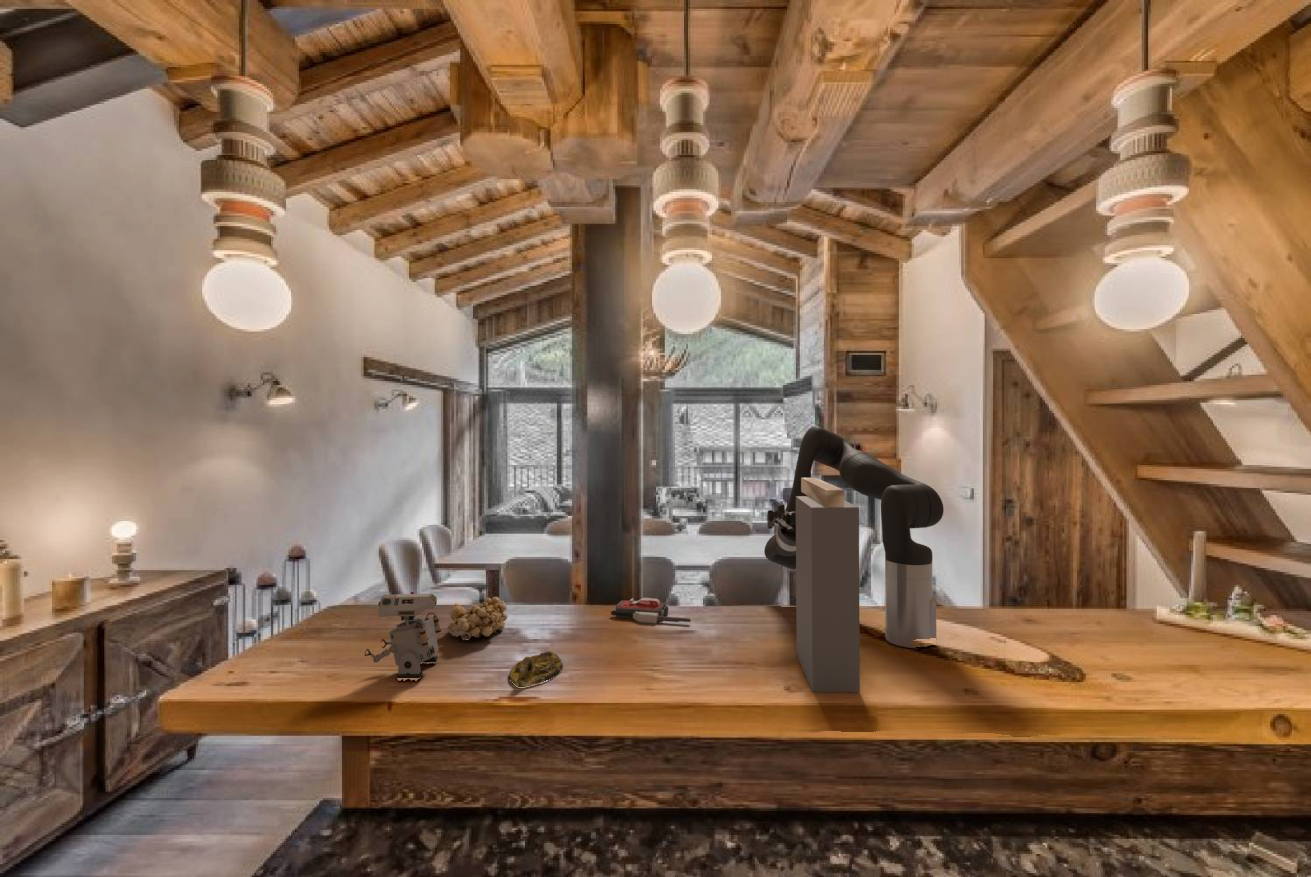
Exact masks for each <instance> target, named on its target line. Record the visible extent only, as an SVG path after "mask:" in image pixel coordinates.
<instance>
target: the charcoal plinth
mask: <svg viewBox="0 0 1311 877" xmlns="http://www.w3.org/2000/svg"><path fill="white" fill-rule="evenodd" d="M795 575H796V576H795V577H796V578H795V583H796V584H795V587H796V588H795V590H796V591H795V594H796V595H795V598H796V601H795V602H796V603H795V604H796V605H795V606H796V607H795V608H796V609H795V610H796V611H795V612H796V614H795V615H796V657H797V660H798V662H799V664H800V667H801V669H802V671H803V673H804V676H805V677H806V680H807V683H808V682H809V683H808V685H809V687H810V688H811V692H813V693H847V692H860V691H861V689H860V688H861V685H860V684H861V680H860V677H861V676H860V674H861V671H860V670H861V668H860V665H861V664H860V661H861V658H860V654H861V653H860V645H861V644H860V642H861V641H860V640H861V638H860V635H861V634H860V507H859V506H856V505H855V504H854V503H852V502H849V501H847V500H845V499H844V507H828V508H826V507H825V506H823V505H822V504H820V503H818V502H817V501H815V500H814V499H812V498H810V497H809V496H796V569H795Z"/></svg>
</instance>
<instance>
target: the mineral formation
mask: <svg viewBox="0 0 1311 877" xmlns="http://www.w3.org/2000/svg"><path fill="white" fill-rule="evenodd" d="M507 609H508V608H507V604H506V603H505V601H504V600H500V598H499V597H498V596H493V597H492V598H490V597H487V598H485V599H484V601H483V603H478V604H474V605H472V606H471V607H470V608H468V609H467V610H466V609H465V608H464V607H463V606H462V605H460V604H459V603H454V604H453V605H452V606H451V610H450V612H449V614H450V619H451V621H449V624H448V626H447V627H446V629H445V631H446V633H450V634H451V636H453V637H456V638H459V637H461V640H462V639H464V640H465V639H470V640H471V638H472V637H474V638H475V639H478V638H480V637H481V636H484V637H487V638H488V637H490V636H491V635H492V634H495V633H496V632H497V631H498V630H502V631H503V630H504V629H505V624H506V622H505V621H506V620H507V619H508V613H505V611H506V610H507ZM472 635H473V636H472ZM464 640H463V641H464Z"/></svg>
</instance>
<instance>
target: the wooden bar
mask: <svg viewBox="0 0 1311 877" xmlns="http://www.w3.org/2000/svg"><path fill="white" fill-rule="evenodd" d="M801 492H802V493H804V494H806V495H807V496H809V497H810V498H812V499H814V500H815V501H817V502H818V503H820V504H822V505H823V506H825V507H826V508H828V507H844V500H845V489H842V488H840V487H838V486H836V485H833V484H831V483H829V482H826V481H824V480H822V479H819V478H818V477H811V478H801Z"/></svg>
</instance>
